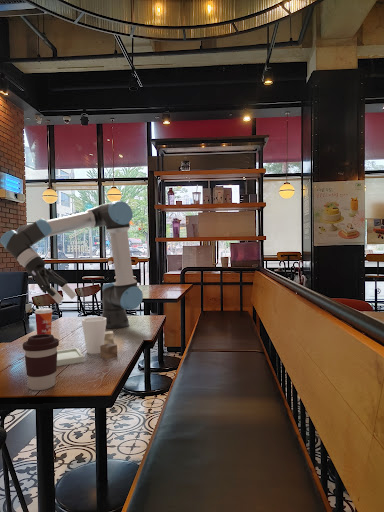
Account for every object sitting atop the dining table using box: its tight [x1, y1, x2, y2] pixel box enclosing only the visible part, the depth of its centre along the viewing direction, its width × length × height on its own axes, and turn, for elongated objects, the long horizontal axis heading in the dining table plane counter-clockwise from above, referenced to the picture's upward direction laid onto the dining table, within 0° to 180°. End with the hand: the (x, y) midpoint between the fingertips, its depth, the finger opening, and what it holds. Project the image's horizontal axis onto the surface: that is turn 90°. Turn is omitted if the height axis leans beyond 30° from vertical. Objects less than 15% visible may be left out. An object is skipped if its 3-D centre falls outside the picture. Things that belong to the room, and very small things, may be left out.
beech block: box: [104, 330, 115, 344], centre depth 155 cm, size 4×4×4 cm
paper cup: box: [34, 307, 53, 335], centre depth 162 cm, size 8×8×14 cm
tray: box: [57, 347, 85, 367], centre depth 131 cm, size 13×13×2 cm
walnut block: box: [99, 343, 118, 360], centre depth 134 cm, size 4×4×4 cm
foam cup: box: [81, 316, 107, 355], centre depth 142 cm, size 10×9×13 cm
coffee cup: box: [22, 333, 60, 391], centre depth 106 cm, size 10×10×15 cm
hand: (68, 299), depth 144 cm, fingers open, 13 cm apart
